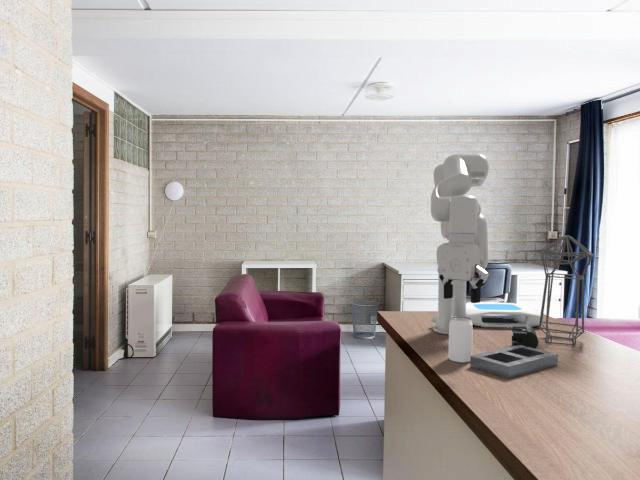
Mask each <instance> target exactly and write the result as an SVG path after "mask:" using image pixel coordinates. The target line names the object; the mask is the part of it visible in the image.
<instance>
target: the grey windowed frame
mask: <svg viewBox="0 0 640 480" xmlns="http://www.w3.org/2000/svg"><path fill="white" fill-rule="evenodd" d="M558 362H559V354H558V353H555V352H550V351H548V350H543V349H538V348H536V349H535V348H531V347H527V346H522V345H516V346H512V345H511V346H509V347H508V346H507V347H504V348H500V349H495V350H490V351H486V352H485V351H484V352H482V353H477V354H472V356H470V362H469V365H470V366H469V367H470V368H473V369H477V370H479V371H483V372H486V373H490V374H492V375H496V376H499V377H503V378H506V379H511V378H512V379H513V378H515V377H518V376H522V375H526V374H530V373H533V372H536V371H540V370H544V369H547V368H551V367H555V366H557V365H558V364H559V363H558Z"/></svg>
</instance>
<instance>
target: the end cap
mask: <svg viewBox="0 0 640 480" xmlns="http://www.w3.org/2000/svg"><path fill="white" fill-rule="evenodd" d="M511 332H512V335H511V347H512V346H516V345H522V346H527V347H531V348H535V349H538V348H537V347H538V345H539V339H538V336H537V333H536V331H535V329H534V327H530V326H528V325H526V327H515V326H513V327H512V328H511Z"/></svg>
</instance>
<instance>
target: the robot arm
mask: <svg viewBox="0 0 640 480" xmlns="http://www.w3.org/2000/svg"><path fill="white" fill-rule="evenodd" d="M489 167H490V165H489V161H488V158H487V157H486V155H483V154H482V153H461V154H459V153H457V154H452V155H448V156H447V157H446V158H445V159H444V161H443V163H441V164H439V165H437V166H435V167H434V170H433V183H434V184H433V185H434V188H433V190H432V191H431V195H430V214H431V217H432V219H433V220H434V221H436V222H439V223H440V233H441V235H442V237H443V238H444V239H445V240H447V241H448V242H445V243H441V244H440V245H438V247H437V249H436V253H435V254H436V261H437V269H436V270H437V274H438V286H437V287H438V288H437V289H438V290H437V291H438V294H437V295H438V296H437V298H438V301H437V303H438V304H437V315H434V316H433V317H432V318H431V319H430V322H432V323H435V325H434V326H433V332H435V333H437V334H443V335H448V336H449V322H450V320H451V317H454V316H462V317H466V303H467V282H468V281H469V283H470V285H471V287H472V288H470V302H471V303H479V302H481V292H482V291H481V289H482V288H483V287H484V285H485V284H486V283H487V280H488V278H489V276H490V273H489V272H487V271H486V270H485V269H486V268H487V266H488V264H489V241H488V240H489V238H488V221H487V219H486V217H485V216H484V215H483V214H482V213H481V212H482V208H481V207H482V206H481V202H479V200H478V198H476V197H475V196H473V195H467V193H468V192H469V191H470V190H471V188H477V187H481V186H482V185H483V184H484V182H485V181H486V179H487V177H488V175H489Z"/></svg>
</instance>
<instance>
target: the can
mask: <svg viewBox="0 0 640 480" xmlns="http://www.w3.org/2000/svg"><path fill="white" fill-rule="evenodd" d="M473 332H474V331H473V324H472V322H471V318H469V317H462V316H454V317H451V320H450V322H449V335H448V359H449V361H451V362H454V363H459V364H465V363H470V356H472V355H473V336H474V335H473V334H474V333H473Z"/></svg>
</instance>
